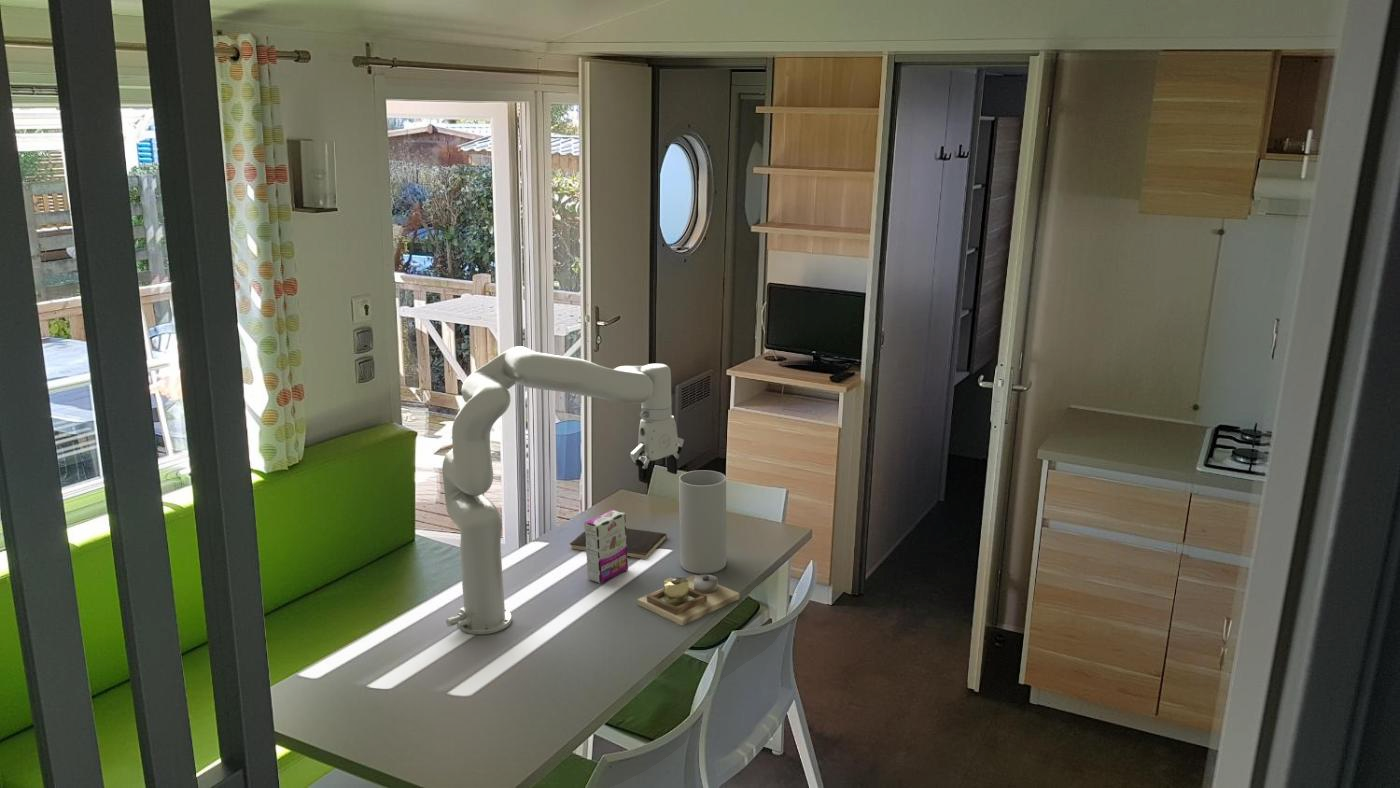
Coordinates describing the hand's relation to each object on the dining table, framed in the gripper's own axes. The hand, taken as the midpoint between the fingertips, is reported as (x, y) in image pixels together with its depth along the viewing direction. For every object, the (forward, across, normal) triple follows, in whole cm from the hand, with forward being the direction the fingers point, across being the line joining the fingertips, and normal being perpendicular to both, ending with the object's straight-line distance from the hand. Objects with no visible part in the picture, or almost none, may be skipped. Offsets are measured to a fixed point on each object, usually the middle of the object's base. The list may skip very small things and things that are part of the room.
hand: (658, 477), depth 264 cm
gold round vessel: (+27, -8, -15) cm, 31 cm away
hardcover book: (+29, +8, +26) cm, 40 cm away
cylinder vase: (+29, +14, -2) cm, 32 cm away
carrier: (+28, -4, -15) cm, 32 cm away
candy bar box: (+29, -8, +12) cm, 32 cm away
